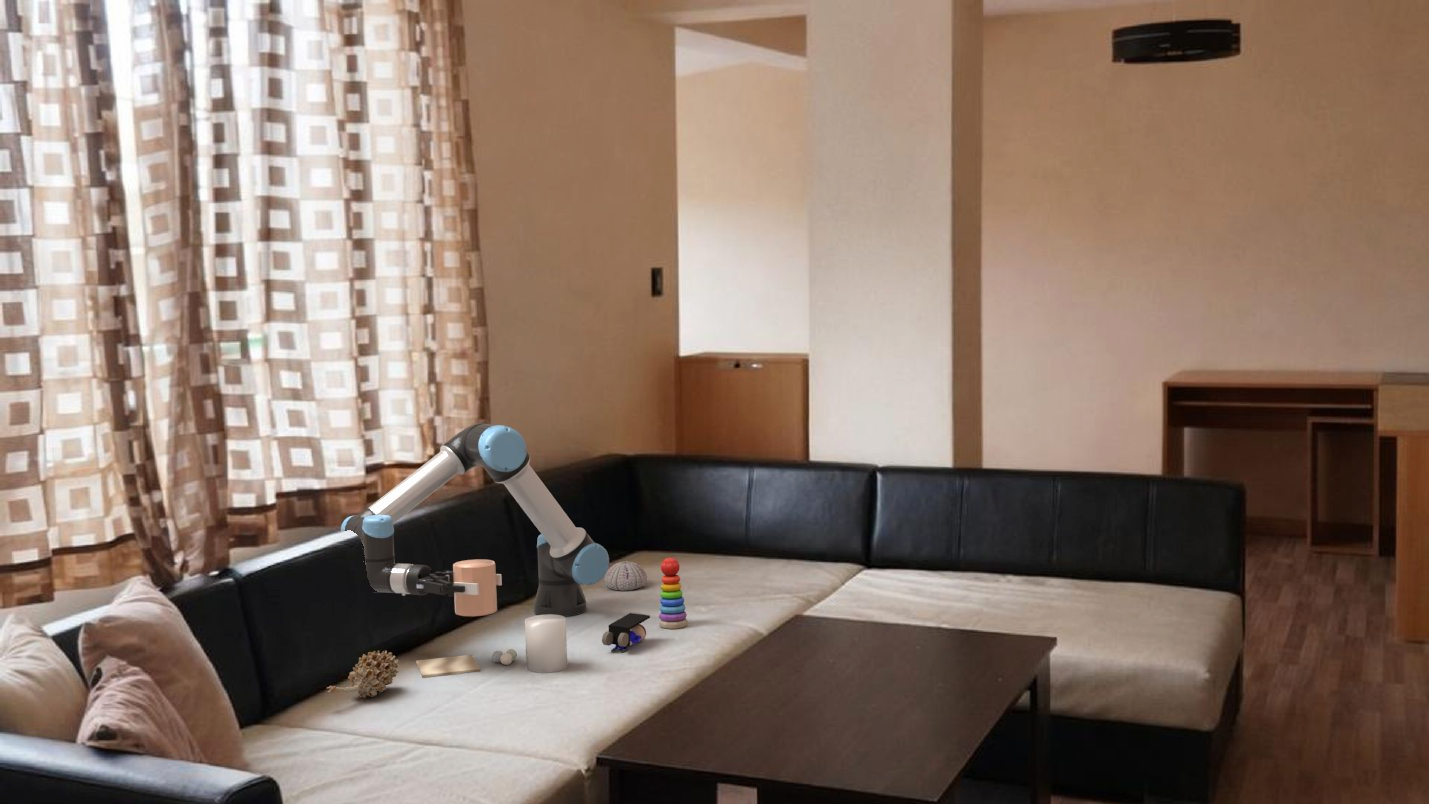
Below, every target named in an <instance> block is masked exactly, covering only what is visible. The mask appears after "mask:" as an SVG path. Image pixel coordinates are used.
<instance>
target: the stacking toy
mask: <svg viewBox="0 0 1429 804" xmlns="http://www.w3.org/2000/svg"><path fill="white" fill-rule="evenodd" d="M680 566H681V565H680V563H679V561H678V560H677V559H676V558H673V557H667V558H665V559H664V560H663V561H662V562H661V564H660V570H661V572H662V574H663V576H662V577H661V582H662V584H661V585H660V590H661V591H660V597H661V599H660V601H659V602H660V606H659V611H660V613H659V614H658V617H659V620H658V625H659V627H661V628H662V629H663V628H664V629H668V630H674V629H676V630H677V629H682V628H685V627H687V625H688V623H689V622H688V621H689V620H688V619H687V615H688V614H687V612H686V605H685V604H684V603H685V599H684V596H683V591H682V583H680V581H681V577H680V575H678V573H679V571H680Z"/></svg>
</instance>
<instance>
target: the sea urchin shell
mask: <svg viewBox="0 0 1429 804" xmlns="http://www.w3.org/2000/svg"><path fill="white" fill-rule="evenodd" d="M603 579H604V585H606V587H607V588H608V589H610V590H615V591H624V592H625V591H632V590H638V589H640V588H642V587H644V586H645V585H646V584H647V581H648V575H647V572H646V571H645V569H644V568H643V567H642V566H641V565H640V564H638V563H636V562H632V561H628V560H624V561H620V562H616V563H615V564H613V565H612V566H610V568H609V567H608V570H607V572H606V574H605V576H604V577H603Z"/></svg>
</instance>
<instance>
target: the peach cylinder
mask: <svg viewBox="0 0 1429 804" xmlns="http://www.w3.org/2000/svg"><path fill="white" fill-rule="evenodd" d="M452 571H453V577H454V582H463V583H478V586H479V595H468V594H454V593H453V597H454V599H453V601H454V613H455V615H457V616H461V617H481V616H487V615H491V614H494V613H496V612H497V611H498V605H497V604H498V601H497V600H498V599H497V597H498V596H497V585H496V574H497V572H496V563H495V561H494V560H491V559H480V558H479V559H477V558H476V559H467V560H461V561H456V562H455V563H453V564H452Z"/></svg>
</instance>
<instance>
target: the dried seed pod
mask: <svg viewBox="0 0 1429 804" xmlns="http://www.w3.org/2000/svg"><path fill="white" fill-rule="evenodd" d="M380 651H381V650H377V651H376V650H373V651H369V652H367V655H366V654H364V653H363V654H362V657H358V662H357V663H356V664H355V665H354V666H355V667H354V666H353V667H352V669H353V671H351V672H349V675H348V677H347V679H349V680H350V682H351V684H350V685H349V686H346V687H339V686H336V685H329V686H327V689H329V690H327V692H328V693H332V694H344V693H345V694H348V693H349V694H350V693H355V692H357V694H358V695H359V697H360V698H361V699H362V698H363V699H366V698H367V696H368V697H371V698H374V697H375V696H377V694H378V692H380V693H383V692H384V691H385V690H387V686H389V685H392V684H393V681H394V679H393V678H395V677H397V675H398V673H399V671H398V670H397V669H398V668H399V667H400V665H399V664H398V663H399V659H396V656H395V655H393V652H388V651H387V650H383V651H382V652H381V653H380Z"/></svg>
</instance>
